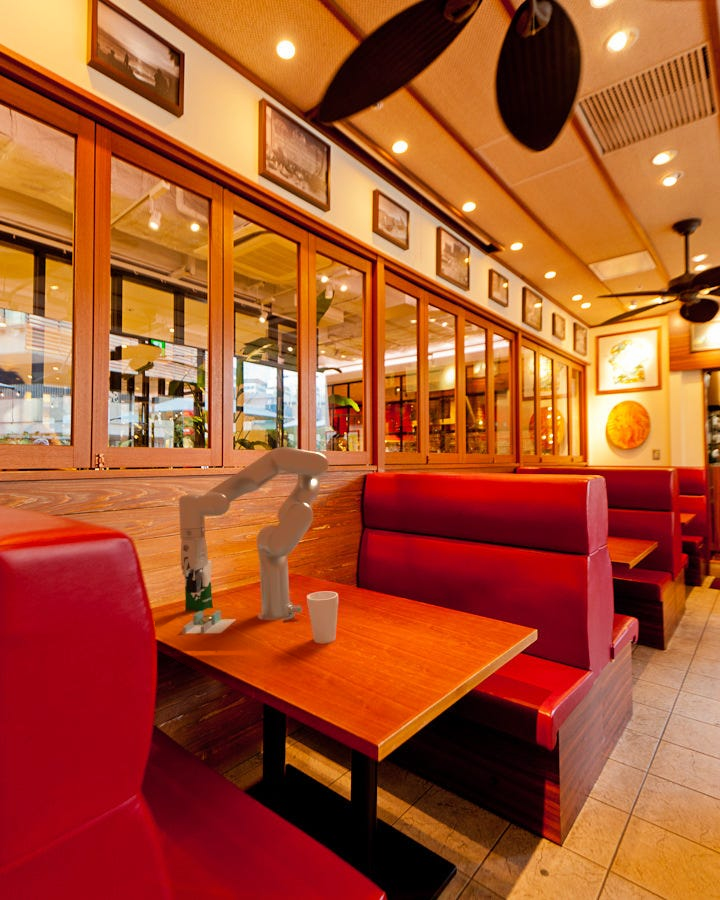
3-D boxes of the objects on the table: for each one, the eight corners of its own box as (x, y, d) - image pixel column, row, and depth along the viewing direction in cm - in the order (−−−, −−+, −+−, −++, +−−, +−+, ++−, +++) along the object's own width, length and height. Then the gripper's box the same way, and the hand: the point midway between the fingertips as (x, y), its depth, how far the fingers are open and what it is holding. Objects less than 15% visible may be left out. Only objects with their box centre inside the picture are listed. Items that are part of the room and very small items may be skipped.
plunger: (215, 617, 167) (215, 615, 167) (210, 621, 163) (210, 619, 163) (204, 617, 168) (203, 615, 168) (198, 621, 164) (198, 619, 164)
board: (236, 622, 167) (235, 610, 167) (220, 636, 154) (220, 623, 154) (199, 623, 168) (198, 610, 169) (181, 637, 156) (180, 623, 156)
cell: (202, 590, 160) (204, 567, 160) (197, 593, 156) (199, 569, 156) (191, 589, 160) (193, 566, 160) (186, 592, 157) (188, 568, 157)
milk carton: (196, 606, 189) (194, 554, 189) (216, 607, 186) (214, 554, 186) (181, 613, 180) (178, 559, 181) (202, 615, 178) (199, 559, 178)
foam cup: (346, 636, 149) (344, 593, 149) (329, 647, 141) (326, 601, 141) (320, 632, 154) (318, 590, 154) (302, 642, 146) (300, 598, 146)
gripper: (192, 537, 150) (194, 597, 150) (214, 529, 166) (216, 584, 166) (168, 537, 151) (170, 598, 150) (193, 529, 167) (195, 584, 167)
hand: (194, 590), depth 158 cm, fingers closed on cell, 3 cm apart
